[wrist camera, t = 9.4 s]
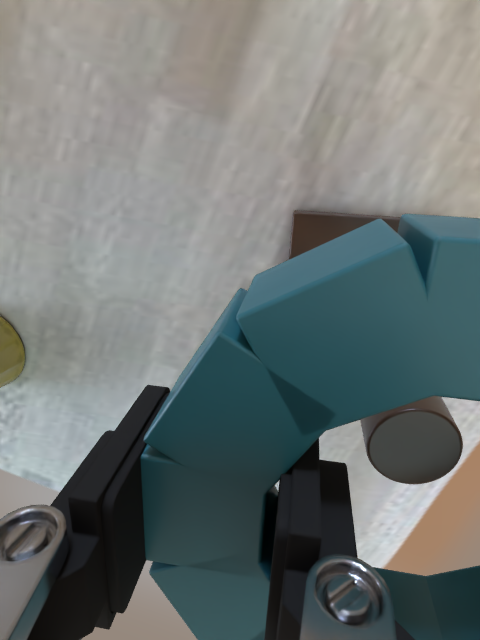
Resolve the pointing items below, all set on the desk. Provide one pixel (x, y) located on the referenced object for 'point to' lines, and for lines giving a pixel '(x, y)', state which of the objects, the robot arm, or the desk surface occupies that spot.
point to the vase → (10, 353)
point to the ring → (308, 413)
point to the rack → (402, 422)
